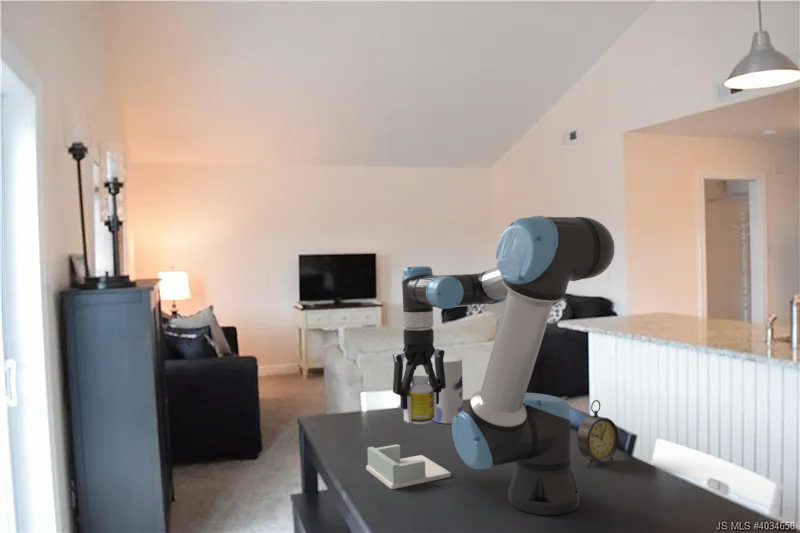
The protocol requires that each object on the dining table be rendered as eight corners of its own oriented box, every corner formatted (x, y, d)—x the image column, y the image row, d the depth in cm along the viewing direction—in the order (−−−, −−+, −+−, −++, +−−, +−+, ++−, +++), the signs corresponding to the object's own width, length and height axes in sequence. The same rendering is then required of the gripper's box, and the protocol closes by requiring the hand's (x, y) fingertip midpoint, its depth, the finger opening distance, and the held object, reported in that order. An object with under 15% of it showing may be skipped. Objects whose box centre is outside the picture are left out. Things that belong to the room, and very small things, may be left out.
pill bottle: (430, 425, 152) (430, 378, 151) (404, 424, 153) (404, 377, 152) (434, 417, 158) (434, 372, 157) (409, 416, 159) (409, 371, 159)
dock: (450, 476, 150) (450, 454, 150) (391, 489, 143) (390, 465, 143) (421, 458, 164) (421, 438, 164) (366, 469, 157) (365, 447, 157)
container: (464, 423, 195) (463, 360, 195) (433, 424, 196) (431, 361, 195) (462, 415, 205) (460, 355, 205) (431, 415, 206) (430, 356, 205)
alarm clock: (589, 470, 152) (588, 405, 152) (573, 464, 157) (572, 400, 157) (620, 462, 158) (619, 399, 157) (603, 456, 162) (602, 395, 162)
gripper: (444, 323, 162) (446, 410, 163) (376, 329, 153) (378, 421, 154) (459, 326, 155) (461, 417, 156) (389, 332, 147) (391, 429, 147)
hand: (420, 419), depth 155 cm, fingers closed on pill bottle, 6 cm apart
